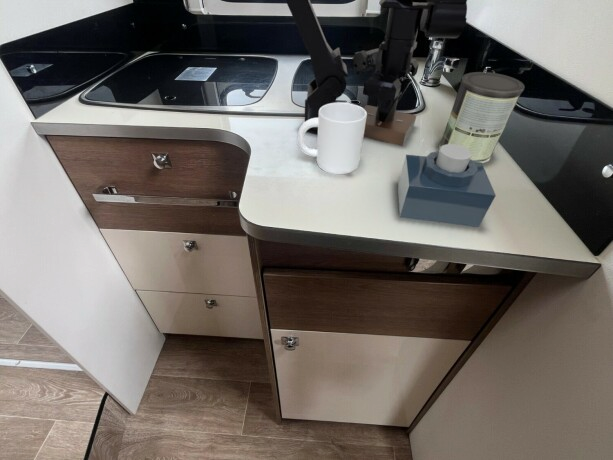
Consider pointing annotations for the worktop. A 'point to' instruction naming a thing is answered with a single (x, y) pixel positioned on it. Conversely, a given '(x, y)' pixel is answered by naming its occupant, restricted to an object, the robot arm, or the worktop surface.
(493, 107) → the coffee can
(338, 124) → the mug
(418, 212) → the button base
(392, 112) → the dial
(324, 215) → the worktop surface
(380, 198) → the worktop surface
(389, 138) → the dial panel
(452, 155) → the push button
